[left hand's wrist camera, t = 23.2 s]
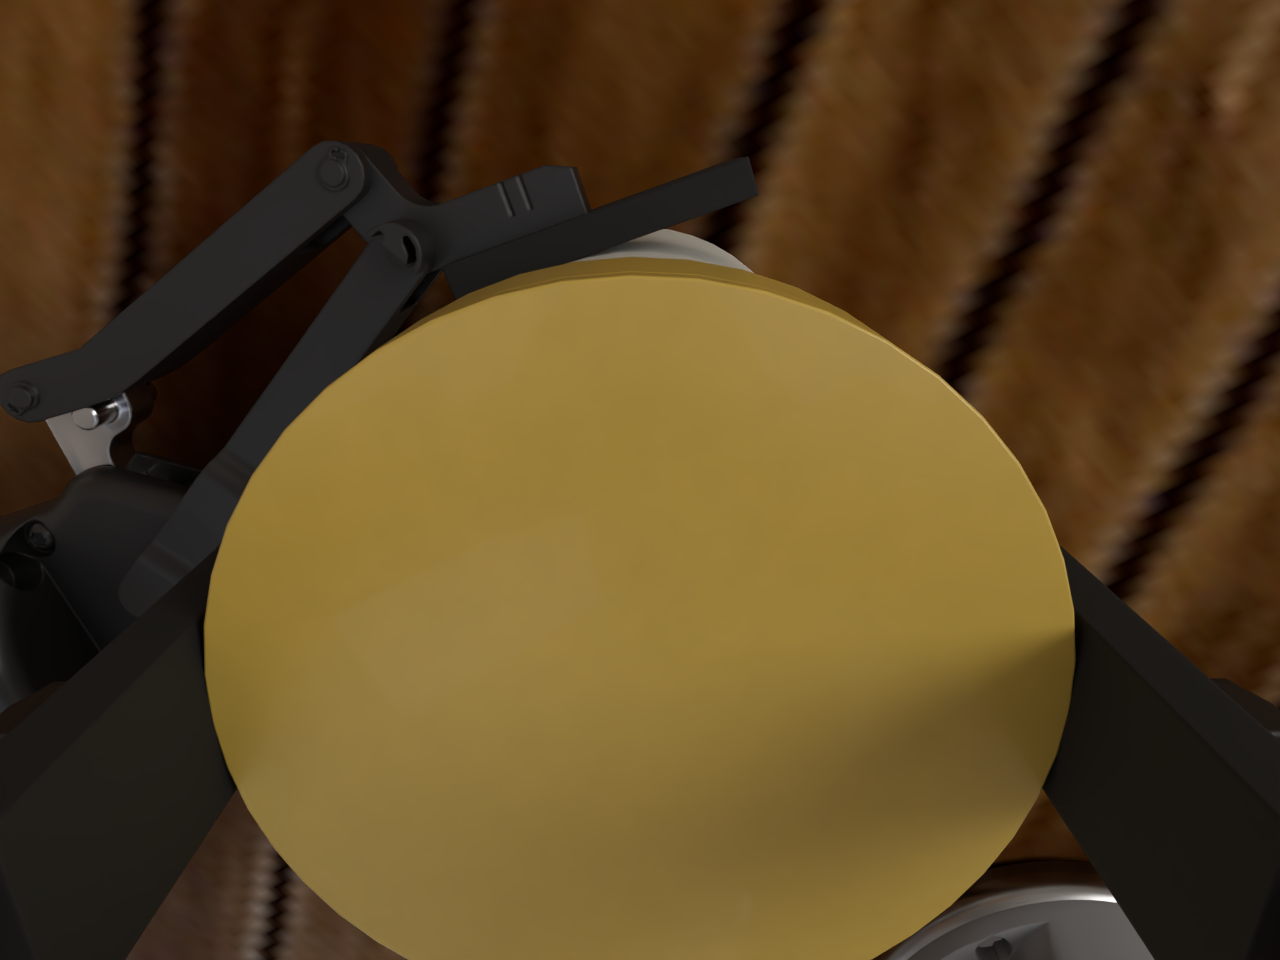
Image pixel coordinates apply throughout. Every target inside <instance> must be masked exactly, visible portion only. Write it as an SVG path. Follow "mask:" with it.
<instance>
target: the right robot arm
mask: <svg viewBox="0 0 1280 960" xmlns="http://www.w3.org/2000/svg"><path fill="white" fill-rule="evenodd" d="M758 195H759V193H758V190H757V186H756V182H755V179H754V175H753V171H752V168H751V164H750V160H749V157H741V158H734V159H731V160H728V161H726V162H723V163H720V164H717V165H714V166H712V167H709V168H706V169H703V170H701V171H698V172H695V173H692V174H690V175H687V176H684V177H681V178H678V179H676V180H673V181H670V182H667V183H665V184H662V185H659V186H656V187H654V188H651V189H648V190H645V191H643V192H640V193H637V194H634V195H631V196H629V197H626V198H623V199H620V200H618V201H615V202H612V203H609V204H607V205H604V206H601V207H598V208H595V209H593V210H591V208H590V205H589V202H588V199H587V196H586V193H585V190H584V187H583V185H582V182H581V179H580V176H579V173H578V170H577V167H567V166H550V165H544V166H542V167H539V168H536V169H534V170H531V171H528V172H525V173H523V174H520V175H518V176H515V177H512V178H509V179H507V180H504V181H501V182H499V183H496V184H493V185H490V186H488V187H485V188H482V189H480V190H477V191H474V192H471V193H469V194H466V195H463V196H461V197H458V198H455V199H453V200H450V201H447V202H444V203H442V204H441V203H434V202H431V201H428V200H426V199H425V198H423V197H421V196H420V195H419V194H418V193H417V192H416V191H415V190H414V189H413V188H412V187H411V186H410V185H409V183H408V182H407V181H406V180H405V179H404V178H403V176H402V175H401V174H400V173H399V172H398V170H397V166H396V164H395V162H394V160H393V158H392V156H391V155H390V154H389V153H387V152H386V151H385V150H384V149H383V148H380V147H378V146H375V145H372V144H363V143H353V142H343V141H322V142H321V143H319V144H317V145H315V146H313V147H312V148H311V149H309V150H308V151H307V152H306V153H305V154H304V155H303V156H301V157H300V158H299V159H298V160H297V161H296V162H294V163H293V164H292V165H291V166H290V167H289V168H288V169H286V170H285V171H284V172H283V173H282V174H281V175H279V176H278V177H277V178H276V179H275V180H274V181H273V182H271V183H270V184H269V185H268V186H267V187H266V188H264V189H263V190H262V191H261V192H260V193H259V194H258V195H256V196H255V197H254V198H253V199H252V200H251V201H249V202H248V203H247V204H246V205H245V206H244V207H243V208H241V209H240V210H239V211H238V212H237V213H236V214H234V215H233V216H232V217H231V218H230V219H229V220H228V221H226V222H225V223H224V224H223V225H222V226H221V227H219V228H218V229H217V230H216V231H215V232H214V233H213V234H211V235H210V236H209V237H208V238H207V239H206V240H204V241H203V242H202V243H201V244H200V245H199V246H198V247H196V248H195V249H194V250H193V251H192V252H191V253H189V254H188V255H187V256H186V257H185V258H184V259H183V260H181V261H180V262H179V263H178V264H177V265H176V266H174V267H173V268H172V269H171V270H170V271H169V272H168V273H166V274H165V275H164V276H163V277H162V278H161V279H159V280H158V281H157V282H156V283H155V284H154V285H153V286H151V287H150V288H149V289H148V290H147V291H146V292H144V293H143V294H142V295H141V296H140V297H139V298H137V299H136V300H135V301H134V302H133V303H132V304H131V305H129V306H128V307H127V308H126V309H125V310H124V311H122V312H121V313H120V314H119V315H118V316H117V317H116V318H114V319H113V320H112V321H111V322H110V323H109V324H107V325H106V326H105V327H104V328H103V329H102V330H101V331H99V332H98V333H97V334H96V335H95V336H94V337H92V338H91V339H90V340H89V341H88V342H87V343H86V344H84V345H83V346H82V347H81V348H78V349H75V350H72V351H69V352H66V353H63V354H59V355H56V356H53V357H50V358H47V359H43V360H40V361H37V362H34V363H31V364H28V365H24V366H21V367H18V368H15V369H12V370H9V371H7V372H5V373H4V374H2V375H1V376H0V405H1V406H2V407H3V408H4V409H5V411H6V412H7V413H8V414H10V415H11V416H13V417H14V418H16V419H17V420H21V421H24V422H28V423H29V422H39V421H43V420H45V421H46V423H47V424H48V426H49V428H50V430H51V431H52V433H53V435H54V437H55V439H56V440H57V442H58V444H59V446H60V447H61V449H62V451H63V453H64V455H65V456H66V458H67V460H68V462H69V463H70V465H71V467H72V469H73V471H74V472H75V474H76V476H75V477H74V478H73V479H72V480H71V481H70V482H69V483H68V485H67V486H66V488H65V489H64V491H63V492H62V494H61V495H60V496H59V497H58V498H55V499H52V500H49V501H46V502H43V503H40V504H37V505H35V506H32V507H29V508H26V509H23V510H20V511H17V512H14V513H11V514H9V515H6V516H3V517H0V713H2V712H3V711H4V710H5V709H6V708H8V707H9V706H10V705H12V704H14V703H16V702H18V701H20V700H21V699H23V698H25V697H27V696H29V695H31V694H32V693H34V692H36V691H38V690H40V689H42V688H43V687H45V686H47V685H49V684H51V683H52V682H54V681H68V680H69V679H70V678H71V677H72V676H73V675H74V674H76V673H77V672H78V671H79V670H80V669H81V668H82V667H83V666H85V665H86V664H87V663H88V662H89V661H90V660H91V659H92V658H94V657H95V656H96V655H97V654H98V653H99V652H100V651H101V650H103V649H104V648H105V647H106V646H107V645H108V644H109V643H110V642H112V641H113V640H114V639H115V638H116V637H117V636H118V635H119V634H121V633H122V632H123V631H124V630H125V629H126V628H127V627H128V626H130V625H131V624H132V623H133V622H134V621H135V620H136V619H137V618H139V617H140V616H141V615H142V614H143V613H144V612H145V611H146V610H148V609H149V608H150V607H151V606H152V605H153V604H154V603H155V602H157V601H158V600H159V599H160V598H161V597H162V596H163V595H164V594H166V593H167V592H168V591H169V590H170V589H171V588H172V587H173V586H175V585H176V584H177V583H178V582H179V581H180V580H181V579H182V578H184V577H185V576H186V575H187V574H188V573H189V572H190V571H191V570H193V569H194V568H195V567H196V566H197V565H198V564H199V563H200V562H202V561H203V560H204V559H205V558H206V557H207V556H208V555H209V554H211V553H212V552H213V551H214V550H215V549H216V548H217V547H218V546H220V545H221V542H222V538H223V535H224V532H225V529H226V526H227V523H228V521H229V519H230V517H231V515H232V513H233V511H234V509H235V507H236V505H237V503H238V501H239V499H240V497H241V495H242V493H243V491H244V489H245V487H246V485H247V483H248V481H249V479H250V477H251V475H252V474H253V473H254V471H255V470H256V469H257V467H258V466H259V464H260V463H261V462H262V460H263V459H264V457H265V456H266V455H267V453H268V452H269V450H270V449H271V448H272V446H273V445H274V443H275V442H276V441H277V439H278V438H279V437H280V435H281V434H282V432H283V431H284V430H285V429H286V428H287V426H288V425H289V424H290V423H291V422H292V421H293V420H294V419H295V418H296V417H297V416H298V415H299V414H300V413H301V412H302V411H303V410H304V409H305V408H306V407H307V406H308V405H309V404H310V403H311V402H312V401H313V400H314V399H315V398H316V397H317V396H318V395H319V394H320V393H321V392H322V391H323V390H324V389H325V388H326V387H327V386H328V385H330V384H331V383H332V382H334V381H335V380H336V379H338V378H339V377H340V376H342V375H343V374H344V373H346V372H347V371H348V370H350V369H351V368H352V367H354V366H355V365H356V364H358V363H359V362H360V361H362V360H363V359H364V358H366V357H367V356H368V355H370V354H371V353H372V352H374V351H375V350H376V349H378V348H379V347H381V346H382V345H384V344H385V343H387V342H388V341H390V340H391V339H392V337H393V336H394V335H395V333H396V332H397V331H398V329H399V328H400V327H401V325H402V324H403V323H404V321H405V320H406V319H407V317H408V316H409V315H410V313H411V312H412V311H413V309H414V308H415V307H416V305H417V304H418V303H419V301H420V300H421V299H422V297H423V296H424V295H425V293H426V292H427V291H428V289H429V288H430V287H431V285H432V284H433V283H434V281H435V280H436V279H437V277H438V276H439V275H440V273H441V272H442V271H444V274H445V276H446V279H447V281H448V284H449V286H450V288H451V291H452V293H453V296H454V298H455V300H457V299H459V298H461V297H463V296H465V295H467V294H469V293H471V292H474V291H477V290H479V289H482V288H484V287H487V286H490V285H492V284H495V283H498V282H500V281H503V280H506V279H508V278H511V277H514V276H516V275H519V274H523V273H527V272H532V271H536V270H540V269H545V268H549V267H554V266H558V265H562V264H566V263H569V262H572V261H575V260H577V259H580V258H583V257H586V256H589V255H591V254H594V253H597V252H600V251H603V250H606V249H608V248H611V247H614V246H617V245H620V244H622V243H625V242H628V241H631V240H634V239H637V238H639V237H642V236H645V235H648V234H651V233H653V232H656V231H659V230H662V229H665V228H668V227H670V226H673V225H676V224H679V223H682V222H685V221H687V220H690V219H693V218H696V217H699V216H701V215H704V214H707V213H710V212H713V211H716V210H718V209H721V208H724V207H727V206H730V205H732V204H735V203H738V202H741V201H744V200H747V199H749V198H752V197H755V196H758ZM352 226H353V228H354V229H355V230H356V231H357V232H358V233H359V234H360V235H361V237H362V238H363V239H364V240H365V241H366V242H367V243H368V245H367V246H366V248H365V249H364V251H363V252H362V253H361V255H360V256H359V258H358V259H357V261H356V262H355V263H354V265H353V266H352V268H351V269H350V270H349V272H348V273H347V275H346V276H345V277H344V279H343V280H342V282H341V283H340V284H339V286H338V287H337V289H336V290H335V292H334V293H333V294H332V296H331V297H330V299H329V300H328V301H327V303H326V304H325V306H324V307H323V308H322V310H321V311H320V313H319V314H318V316H317V317H316V318H315V320H314V321H313V323H312V324H311V325H310V327H309V328H308V330H307V331H306V332H305V334H304V335H303V337H302V338H301V339H300V341H299V342H298V344H297V345H296V347H295V348H294V349H293V351H292V352H291V354H290V355H289V356H288V358H287V359H286V361H285V362H284V363H283V365H282V366H281V368H280V369H279V371H278V372H277V373H276V375H275V376H274V378H273V379H272V380H271V382H270V383H269V385H268V386H267V387H266V389H265V390H264V392H263V393H262V395H261V396H260V397H259V399H258V400H257V402H256V403H255V404H254V406H253V407H252V409H251V410H250V411H249V413H248V414H247V416H246V417H245V418H244V420H243V421H242V423H241V424H240V426H239V427H238V428H237V430H236V431H235V433H234V434H233V435H232V437H231V438H230V440H229V441H228V442H227V444H226V445H225V446H224V448H223V449H222V450H221V451H220V452H219V453H218V454H217V455H216V456H215V457H214V458H213V459H212V460H211V461H210V462H209V463H208V464H207V466H206V467H205V468H200V467H196V466H193V465H189V464H185V463H182V462H178V461H174V460H171V459H167V458H163V457H160V456H156V455H152V454H149V453H144V452H135V450H134V447H133V444H132V434H133V430H134V429H135V427H136V426H137V425H138V424H139V423H141V422H142V421H144V420H145V419H147V418H148V417H149V416H150V414H151V413H152V410H153V406H154V405H153V401H154V400H155V399H156V396H157V391H156V388H155V387H154V385H153V384H152V383H151V381H153V380H155V379H158V378H160V377H162V376H165V375H167V374H168V373H170V372H172V371H174V370H176V369H178V368H180V367H181V366H183V365H184V364H186V363H187V362H188V361H190V360H191V359H193V358H194V357H195V356H196V355H198V354H199V353H200V352H201V351H202V350H204V349H205V348H206V347H207V346H209V345H210V344H211V343H212V342H213V341H215V340H216V339H217V338H218V337H219V336H221V335H222V334H223V333H224V332H225V331H227V330H228V329H229V328H230V327H231V326H233V325H234V324H235V323H236V322H238V321H239V320H240V319H241V318H242V317H244V316H245V315H246V314H247V313H248V312H250V311H251V310H252V309H253V308H254V307H256V306H257V305H258V304H259V303H260V302H262V301H263V300H264V299H265V298H267V297H268V296H269V295H270V294H271V293H273V292H274V291H275V290H276V289H277V288H279V287H280V286H281V285H282V284H283V283H285V282H286V281H287V280H288V279H290V278H291V277H292V276H293V275H294V274H296V273H297V272H298V271H299V270H300V269H302V268H303V267H304V266H305V265H306V264H308V263H309V262H310V261H311V260H312V259H314V258H315V257H316V256H317V255H319V254H320V253H321V252H322V251H323V250H325V249H326V248H327V247H328V246H329V245H331V244H332V243H333V242H334V241H335V240H337V239H338V238H339V237H340V236H342V235H343V234H344V233H345V232H346V231H348V230H349V229H350V228H351V227H352Z"/></svg>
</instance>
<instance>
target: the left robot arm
mask: <svg viewBox="0 0 1280 960" xmlns="http://www.w3.org/2000/svg"><path fill="white" fill-rule="evenodd" d="M1059 547H1060V549H1061V552H1062V555H1063V558H1064V561H1065V566H1066V571H1067V577H1068V582H1069V587H1070V592H1071V597H1072V602H1073V607H1074V623H1075V652H1076V663H1075V671H1074V679H1073V687H1072V695H1071V701H1070V706H1069V711H1068V715H1067V719H1066V723H1065V728H1064V731H1063V735H1062V738H1061V742H1060V745H1059V749H1058V753H1057V755H1056V758H1055V760H1054V762H1053V765H1052V767H1051V769H1050V771H1049V774H1048V776H1047V778H1046V780H1045V783H1044V785H1043V787H1042V788H1043V790H1044V791H1045V793H1046V794H1047V796H1048V797H1049V799H1050V800H1051V802H1052V804H1053V805H1054V807H1055V808H1056V810H1057V811H1058V813H1059V814H1060V816H1061V817H1062V819H1063V820H1064V822H1065V823H1066V825H1067V826H1068V828H1069V830H1070V831H1071V833H1072V834H1073V836H1074V837H1075V839H1076V840H1077V842H1078V843H1079V845H1080V846H1081V848H1082V849H1083V851H1084V853H1085V854H1086V856H1087V857H1088V859H1089V860H1090V862H1091V863H1086V862H1077V861H1034V862H1026V863H1018V864H1012V865H1007V866H1002V867H997V868H993V869H989V870H986V872H985V873H984V874H983V875H982V876H981V877H980V878H979V879H978V880H977V881H976V882H975V883H974V884H973V885H972V886H970V887H969V888H968V889H967V890H966V891H965V892H964V893H963V894H962V895H961V896H960V897H959V898H958V899H957V900H956V901H955V902H954V903H953V904H952V905H951V906H950V907H948V908H947V909H946V910H944V911H943V912H942V913H941V914H939V915H938V916H937V917H935V918H934V919H933V920H931V921H930V922H929V923H927V924H926V925H925V926H924V927H922V928H921V929H920V930H918V931H917V932H916V933H914V934H913V935H911V936H910V937H908V938H906V939H905V940H903V941H902V942H900V943H898V944H897V945H895V946H893V947H892V948H890V949H888V950H887V951H885V952H883V953H882V954H880V955H878V956H877V957H875V958H874V959H871V960H1280V710H1279V709H1277V708H1276V707H1275V706H1274V705H1273V704H1271V703H1270V702H1268V701H1266V700H1264V699H1262V698H1261V697H1259V696H1257V695H1255V694H1253V693H1251V692H1250V691H1248V690H1246V689H1244V688H1242V687H1240V686H1238V685H1237V684H1235V683H1233V682H1231V681H1229V680H1227V679H1209V678H1208V677H1207V676H1206V675H1205V674H1204V673H1203V672H1202V671H1200V670H1199V669H1198V668H1197V667H1196V666H1195V665H1194V664H1193V663H1192V662H1190V661H1189V660H1188V659H1187V658H1186V657H1185V656H1184V655H1183V654H1181V653H1180V652H1179V651H1178V650H1177V649H1176V648H1175V647H1174V646H1172V645H1171V644H1170V643H1169V642H1168V641H1167V640H1166V639H1165V638H1163V637H1162V636H1161V635H1160V634H1159V633H1158V632H1157V631H1156V630H1154V629H1153V628H1152V627H1151V626H1150V625H1149V624H1148V623H1147V622H1145V621H1144V620H1143V619H1142V618H1141V617H1140V616H1139V615H1138V614H1136V613H1135V612H1134V611H1133V610H1132V609H1131V608H1130V607H1129V606H1127V605H1126V604H1125V603H1124V602H1123V601H1122V600H1121V599H1120V598H1118V597H1117V596H1116V595H1115V594H1114V593H1113V592H1112V591H1111V590H1109V589H1108V588H1107V587H1106V586H1105V585H1104V584H1103V583H1102V582H1100V581H1099V580H1098V579H1097V578H1096V577H1095V576H1094V575H1093V574H1091V573H1090V572H1089V571H1088V570H1087V569H1086V568H1085V567H1084V566H1082V565H1081V564H1080V563H1079V562H1078V561H1077V560H1076V559H1075V558H1073V557H1072V556H1071V555H1070V554H1069V553H1068V552H1067V551H1066V550H1064V549H1063V548H1062V547H1061V546H1060V545H1059ZM219 548H220V546H218V547H217V548H216V549H215V550H214V551H213V552H212V553H211V554H209V555H208V556H207V557H206V558H205V559H204V560H203V561H202V562H200V563H199V564H198V565H197V566H196V567H195V568H194V569H193V570H191V571H190V572H189V573H188V574H187V575H186V576H185V577H184V578H182V579H181V580H180V581H179V582H178V583H177V584H176V585H175V586H173V587H172V588H171V589H170V590H169V591H168V592H167V593H166V594H164V595H163V596H162V597H161V598H160V599H159V600H158V601H157V602H155V603H154V604H153V605H152V606H151V607H150V608H149V609H148V610H146V611H145V612H144V613H143V614H142V615H141V616H140V617H139V618H137V619H136V620H135V621H134V622H133V623H132V624H131V625H130V626H128V627H127V628H126V629H125V630H124V631H123V632H122V633H121V634H119V635H118V636H117V637H116V638H115V639H114V640H113V641H112V642H110V643H109V644H108V645H107V646H106V647H105V648H104V649H103V650H101V651H100V652H99V653H98V654H97V655H96V656H95V657H94V658H92V659H91V660H90V661H89V662H88V663H87V664H86V665H85V666H83V667H82V668H81V669H80V670H79V671H78V672H77V673H76V674H74V675H73V676H72V677H71V678H70V679H69V680H68V681H54V682H52V683H51V684H49V685H47V686H45V687H43V688H42V689H40V690H38V691H36V692H34V693H32V694H31V695H29V696H27V697H25V698H23V699H21V700H20V701H18V702H16V703H14V704H12V705H10V706H9V707H8V708H6V709H5V710H4V711H3V712H2V713H0V960H125V959H126V957H127V956H128V954H129V953H130V951H131V950H132V948H133V947H134V945H135V944H136V942H137V941H138V939H139V938H140V936H141V934H142V933H143V931H144V930H145V928H146V927H147V925H148V924H149V922H150V921H151V919H152V918H153V916H154V915H155V913H156V911H157V910H158V908H159V907H160V905H161V904H162V902H163V901H164V899H165V898H166V896H167V895H168V893H169V892H170V890H171V889H172V887H173V885H174V884H175V882H176V881H177V879H178V878H179V876H180V875H181V873H182V872H183V870H184V869H185V867H186V866H187V864H188V862H189V861H190V859H191V858H192V856H193V855H194V853H195V852H196V850H197V849H198V847H199V846H200V844H201V843H202V841H203V840H204V838H205V836H206V835H207V833H208V832H209V830H210V829H211V827H212V826H213V824H214V823H215V821H216V820H217V818H218V817H219V815H220V813H221V812H222V810H223V809H224V807H225V806H226V804H227V803H228V801H229V800H230V798H231V797H232V795H233V794H234V792H235V791H236V789H237V786H236V784H235V782H234V780H233V778H232V776H231V774H230V772H229V770H228V768H227V766H226V763H225V759H224V756H223V753H222V750H221V747H220V744H219V741H218V738H217V735H216V731H215V727H214V723H213V719H212V714H211V709H210V705H209V700H208V694H207V688H206V682H205V676H204V620H205V613H206V606H207V599H208V593H209V586H210V579H211V573H212V570H213V567H214V564H215V561H216V557H217V554H218V551H219Z"/></svg>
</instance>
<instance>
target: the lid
mask: <svg viewBox="0 0 1280 960" xmlns="http://www.w3.org/2000/svg"><path fill="white" fill-rule="evenodd" d="M1075 663H1076V652H1075V623H1074V607H1073V602H1072V597H1071V592H1070V587H1069V582H1068V577H1067V571H1066V566H1065V561H1064V558H1063V555H1062V552H1061V549H1060V547H1059V544H1058V541H1057V539H1056V536H1055V533H1054V530H1053V528H1052V525H1051V522H1050V520H1049V517H1048V514H1047V511H1046V509H1045V507H1044V505H1043V504H1042V502H1041V500H1040V498H1039V497H1038V495H1037V493H1036V491H1035V489H1034V488H1033V486H1032V484H1031V482H1030V481H1029V479H1028V477H1027V475H1026V474H1025V472H1024V470H1023V468H1022V466H1021V465H1020V463H1019V461H1018V460H1017V459H1016V457H1015V456H1014V455H1013V454H1012V452H1011V451H1010V450H1009V449H1008V447H1007V446H1006V445H1005V444H1004V442H1003V441H1002V440H1001V438H1000V437H999V436H998V435H997V433H996V432H995V431H994V430H993V428H992V427H991V426H990V425H989V423H988V422H987V421H986V420H985V418H984V417H983V416H982V415H981V414H980V413H979V412H978V411H977V410H976V409H975V408H973V407H972V406H971V405H970V404H969V403H968V402H967V401H966V400H965V399H964V398H963V397H962V396H961V395H960V394H958V393H957V392H956V391H955V390H954V389H953V388H952V387H951V386H950V385H949V384H948V383H947V382H946V381H944V380H943V379H942V378H941V377H940V376H939V375H938V374H936V373H935V372H933V371H932V370H930V369H929V368H927V367H926V366H925V365H923V364H922V363H920V362H919V361H917V360H916V359H914V358H913V357H911V356H910V355H908V354H907V353H906V352H904V351H903V350H901V349H900V348H898V347H897V346H895V345H894V344H892V343H891V342H890V341H888V340H887V339H885V338H884V337H882V336H881V335H879V334H878V333H876V332H875V331H873V330H872V329H870V328H869V327H867V326H866V325H864V324H863V323H861V322H860V321H859V320H857V319H856V318H854V317H853V316H851V315H850V314H848V313H847V312H845V311H843V310H841V309H839V308H837V307H835V306H833V305H831V304H829V303H827V302H825V301H823V300H821V299H819V298H817V297H815V296H813V295H811V294H809V293H807V292H805V291H803V290H801V289H799V288H797V287H794V286H791V285H788V284H785V283H782V282H779V281H776V280H773V279H770V278H767V277H764V276H761V275H758V274H755V273H752V272H749V271H746V270H742V269H737V268H731V267H726V266H721V265H715V264H710V263H704V262H699V261H694V260H688V259H668V258H647V257H623V258H611V259H600V260H588V261H577V262H571V263H567V264H562V265H558V266H554V267H549V268H545V269H540V270H536V271H532V272H527V273H523V274H519V275H516V276H514V277H511V278H508V279H506V280H503V281H500V282H498V283H495V284H492V285H490V286H487V287H484V288H482V289H479V290H477V291H474V292H471V293H469V294H467V295H465V296H463V297H461V298H459V299H457V300H456V301H454V302H452V303H450V304H448V305H446V306H445V307H443V308H441V309H439V310H437V311H436V312H434V313H432V314H430V315H428V316H426V317H425V318H423V319H421V320H419V321H418V322H416V323H415V324H413V325H412V326H410V327H409V328H408V329H406V330H405V331H403V332H402V333H400V334H399V335H397V336H396V337H394V338H393V339H391V340H390V341H388V342H387V343H385V344H384V345H382V346H381V347H379V348H378V349H376V350H375V351H374V352H372V353H371V354H370V355H368V356H367V357H366V358H364V359H363V360H362V361H360V362H359V363H358V364H356V365H355V366H354V367H352V368H351V369H350V370H348V371H347V372H346V373H344V374H343V375H342V376H340V377H339V378H338V379H336V380H335V381H334V382H332V383H331V384H330V385H328V386H327V387H326V388H325V389H324V390H323V391H322V392H321V393H320V394H319V395H318V396H317V397H316V398H315V399H314V400H313V401H312V402H311V403H310V404H309V405H308V406H307V407H306V408H305V409H304V410H303V411H302V412H301V413H300V414H299V415H298V416H297V417H296V418H295V419H294V420H293V421H292V422H291V423H290V424H289V425H288V426H287V428H286V429H285V430H284V431H283V432H282V434H281V435H280V437H279V438H278V439H277V441H276V442H275V443H274V445H273V446H272V448H271V449H270V450H269V452H268V453H267V455H266V456H265V457H264V459H263V460H262V462H261V463H260V464H259V466H258V467H257V469H256V470H255V471H254V473H253V474H252V475H251V477H250V479H249V481H248V483H247V485H246V487H245V489H244V491H243V493H242V495H241V497H240V499H239V501H238V503H237V505H236V507H235V509H234V511H233V513H232V515H231V517H230V519H229V521H228V523H227V526H226V529H225V532H224V535H223V538H222V542H221V545H220V548H219V551H218V554H217V557H216V561H215V564H214V567H213V570H212V573H211V579H210V586H209V593H208V599H207V606H206V613H205V620H204V676H205V682H206V688H207V694H208V700H209V705H210V709H211V714H212V719H213V723H214V727H215V731H216V735H217V738H218V741H219V744H220V747H221V750H222V753H223V756H224V759H225V763H226V766H227V768H228V770H229V772H230V774H231V776H232V778H233V780H234V782H235V784H236V786H237V789H238V791H239V793H240V795H241V797H242V799H243V801H244V803H245V805H246V807H247V809H248V811H249V812H250V813H251V815H252V816H253V818H254V819H255V821H256V822H257V824H258V825H259V827H260V828H261V830H262V831H263V833H264V834H265V836H266V837H267V839H268V840H269V842H270V843H271V845H272V846H273V848H274V849H275V850H276V851H277V852H278V854H279V855H280V856H281V857H282V858H283V859H284V860H285V862H286V863H287V864H288V865H289V866H290V867H291V868H292V870H293V871H294V872H295V873H296V874H297V875H298V876H299V878H300V879H301V880H302V881H303V882H304V883H305V884H306V885H307V886H308V887H309V888H310V889H311V890H312V891H313V892H315V893H316V894H317V895H318V896H319V897H320V898H321V899H322V900H323V901H325V902H326V903H327V904H328V905H329V906H330V907H331V908H332V909H333V910H335V911H336V912H337V913H338V914H339V915H340V916H342V917H343V918H344V919H346V920H347V921H349V922H350V923H351V924H353V925H354V926H356V927H357V928H358V929H360V930H361V931H363V932H364V933H365V934H367V935H368V936H370V937H371V938H372V939H374V940H375V941H377V942H378V943H380V944H382V945H383V946H385V947H387V948H389V949H391V950H392V951H394V952H396V953H398V954H399V955H401V956H403V957H405V958H407V959H408V960H871V959H874V958H875V957H877V956H878V955H880V954H882V953H883V952H885V951H887V950H888V949H890V948H892V947H893V946H895V945H897V944H898V943H900V942H902V941H903V940H905V939H906V938H908V937H910V936H911V935H913V934H914V933H916V932H917V931H918V930H920V929H921V928H922V927H924V926H925V925H926V924H927V923H929V922H930V921H931V920H933V919H934V918H935V917H937V916H938V915H939V914H941V913H942V912H943V911H944V910H946V909H947V908H948V907H950V906H951V905H952V904H953V903H954V902H955V901H956V900H957V899H958V898H959V897H960V896H961V895H962V894H963V893H964V892H965V891H966V890H967V889H968V888H969V887H970V886H972V885H973V884H974V883H975V882H976V881H977V880H978V879H979V878H980V877H981V876H982V875H983V874H984V873H985V872H986V870H987V869H988V868H989V867H990V865H991V864H992V863H993V862H994V860H995V859H996V858H997V857H998V856H999V854H1000V853H1001V852H1002V851H1003V849H1004V848H1005V847H1006V846H1007V844H1008V843H1009V842H1010V841H1011V840H1012V838H1013V837H1014V835H1015V834H1016V832H1017V831H1018V829H1019V827H1020V826H1021V824H1022V822H1023V821H1024V819H1025V818H1026V816H1027V814H1028V813H1029V811H1030V809H1031V808H1032V806H1033V805H1034V803H1035V801H1036V800H1037V798H1038V796H1039V794H1040V792H1041V789H1042V787H1043V785H1044V783H1045V780H1046V778H1047V776H1048V774H1049V771H1050V769H1051V767H1052V765H1053V762H1054V760H1055V758H1056V755H1057V753H1058V749H1059V745H1060V742H1061V738H1062V735H1063V731H1064V728H1065V723H1066V719H1067V715H1068V711H1069V706H1070V701H1071V695H1072V687H1073V679H1074V671H1075Z"/></svg>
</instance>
